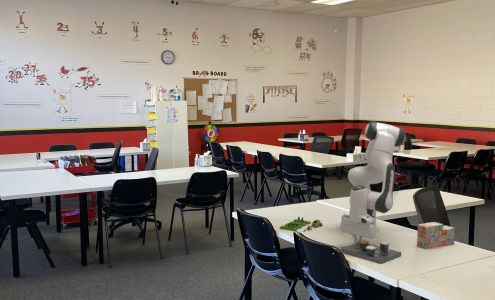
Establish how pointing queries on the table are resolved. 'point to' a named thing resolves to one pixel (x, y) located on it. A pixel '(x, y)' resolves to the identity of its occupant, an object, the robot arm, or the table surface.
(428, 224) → the stack of blocks
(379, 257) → the panel
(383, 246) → the breaker far
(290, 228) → the toy garden set
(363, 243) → the breaker
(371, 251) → the breaker near
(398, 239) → the table surface
